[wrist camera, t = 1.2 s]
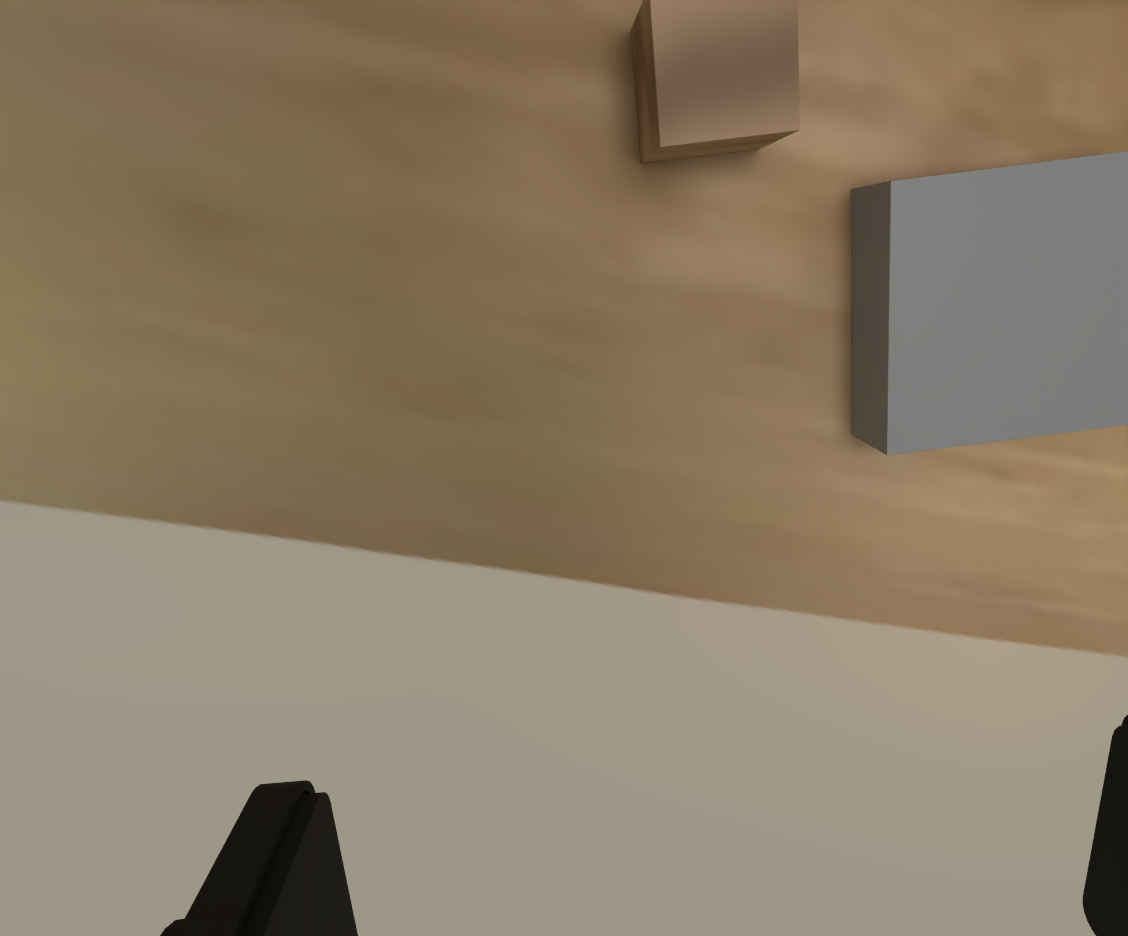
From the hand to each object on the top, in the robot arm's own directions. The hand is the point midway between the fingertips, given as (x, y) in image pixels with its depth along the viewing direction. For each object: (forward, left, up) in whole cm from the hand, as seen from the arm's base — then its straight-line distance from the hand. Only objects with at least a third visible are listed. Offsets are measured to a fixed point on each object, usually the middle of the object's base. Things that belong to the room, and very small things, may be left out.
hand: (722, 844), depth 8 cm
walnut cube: (-13, +6, -26) cm, 29 cm away
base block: (-3, +18, -26) cm, 32 cm away
